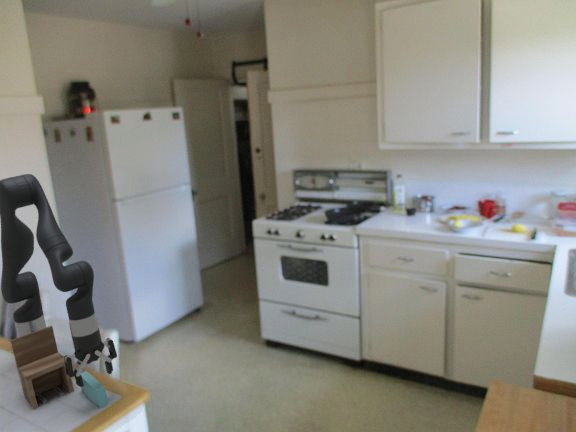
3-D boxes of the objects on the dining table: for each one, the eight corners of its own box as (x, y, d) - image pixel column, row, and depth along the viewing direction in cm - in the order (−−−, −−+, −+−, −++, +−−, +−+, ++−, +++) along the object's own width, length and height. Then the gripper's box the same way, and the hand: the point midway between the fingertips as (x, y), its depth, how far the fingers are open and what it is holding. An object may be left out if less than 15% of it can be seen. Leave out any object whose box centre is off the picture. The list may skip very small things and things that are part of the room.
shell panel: (82, 391, 154) (78, 374, 153) (89, 387, 156) (86, 371, 155) (100, 408, 144) (96, 390, 143) (108, 404, 146) (105, 386, 145)
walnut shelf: (24, 398, 153) (10, 340, 148) (63, 381, 161) (51, 325, 156) (33, 409, 147) (19, 349, 142) (74, 391, 155) (61, 333, 150)
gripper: (103, 317, 149) (113, 365, 153) (55, 335, 140) (66, 386, 143) (113, 323, 143) (123, 373, 147) (64, 343, 134) (76, 395, 138)
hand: (95, 379), depth 145 cm, fingers open, 8 cm apart
